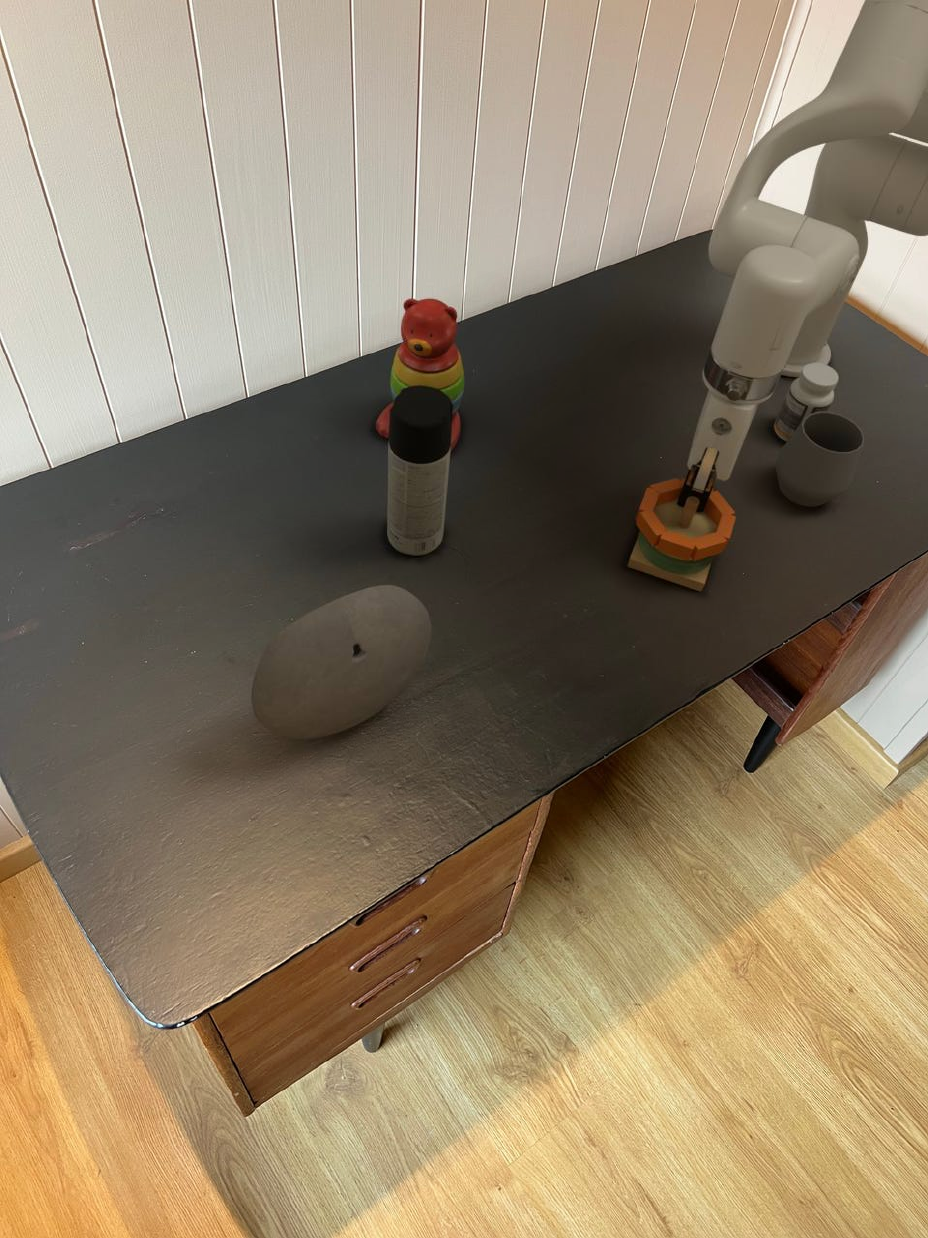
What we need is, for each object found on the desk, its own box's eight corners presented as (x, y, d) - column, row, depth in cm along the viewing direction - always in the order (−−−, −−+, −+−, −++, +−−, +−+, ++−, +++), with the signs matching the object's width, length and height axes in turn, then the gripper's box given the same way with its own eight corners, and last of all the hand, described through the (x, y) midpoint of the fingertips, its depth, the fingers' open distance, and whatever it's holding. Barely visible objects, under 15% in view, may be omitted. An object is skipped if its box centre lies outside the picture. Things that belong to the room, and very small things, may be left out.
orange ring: (650, 481, 109) (654, 468, 108) (736, 508, 108) (742, 496, 106) (627, 540, 103) (631, 528, 102) (718, 571, 101) (723, 559, 100)
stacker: (645, 516, 113) (663, 462, 106) (718, 539, 111) (741, 486, 104) (626, 567, 108) (643, 514, 100) (701, 592, 106) (725, 541, 99)
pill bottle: (811, 421, 126) (839, 362, 119) (816, 449, 123) (846, 390, 115) (770, 416, 127) (796, 356, 119) (774, 444, 123) (801, 384, 115)
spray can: (451, 525, 110) (463, 392, 94) (431, 565, 106) (440, 433, 90) (399, 509, 110) (403, 375, 95) (378, 548, 106) (377, 414, 91)
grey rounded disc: (408, 655, 98) (413, 537, 83) (443, 704, 94) (455, 590, 79) (248, 731, 91) (222, 617, 76) (279, 787, 87) (259, 679, 72)
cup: (854, 498, 118) (888, 440, 110) (807, 528, 114) (839, 469, 106) (797, 456, 122) (827, 396, 114) (751, 483, 118) (778, 423, 110)
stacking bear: (370, 433, 118) (369, 314, 104) (402, 389, 124) (405, 270, 110) (446, 459, 116) (456, 342, 102) (476, 413, 122) (488, 296, 108)
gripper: (763, 429, 88) (709, 554, 103) (791, 335, 98) (738, 462, 112) (688, 406, 89) (645, 532, 104) (723, 316, 99) (679, 443, 114)
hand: (694, 494), depth 108 cm, fingers open, 3 cm apart
